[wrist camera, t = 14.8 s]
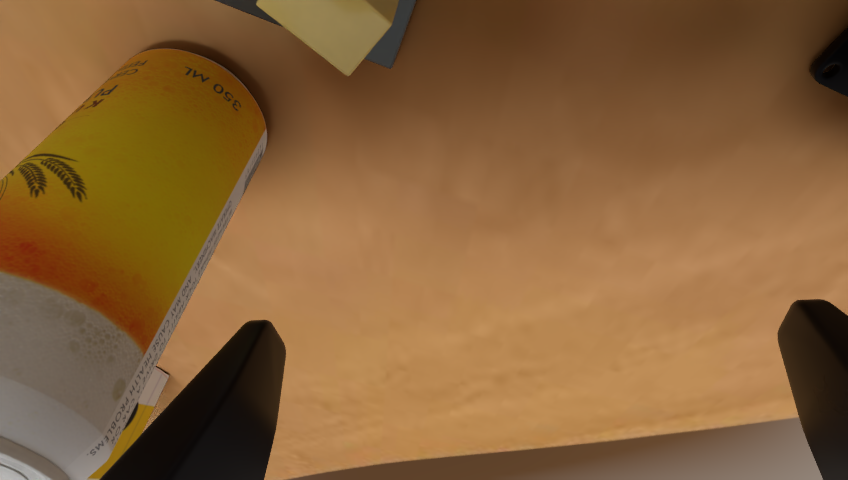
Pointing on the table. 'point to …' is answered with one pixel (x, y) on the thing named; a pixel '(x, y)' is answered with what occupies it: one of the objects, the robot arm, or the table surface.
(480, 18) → the table surface
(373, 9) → the cheese
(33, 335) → the beer can
